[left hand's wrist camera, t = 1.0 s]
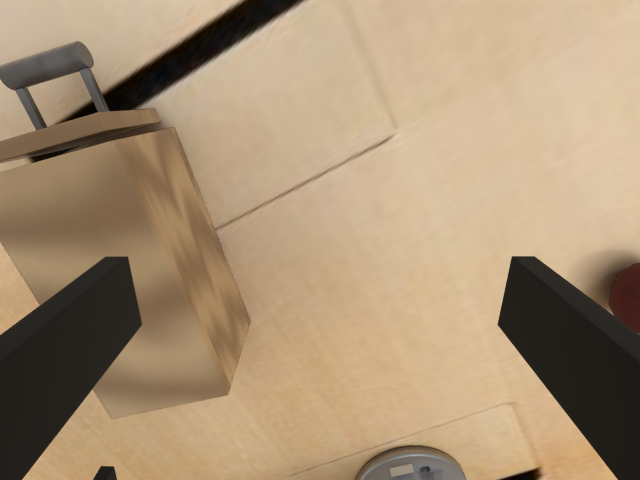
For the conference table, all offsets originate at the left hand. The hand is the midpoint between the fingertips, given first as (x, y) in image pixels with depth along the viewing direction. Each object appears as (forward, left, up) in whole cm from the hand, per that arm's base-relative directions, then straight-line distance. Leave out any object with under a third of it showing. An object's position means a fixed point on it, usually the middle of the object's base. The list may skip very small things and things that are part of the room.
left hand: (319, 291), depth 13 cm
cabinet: (+10, -15, -24) cm, 30 cm away
